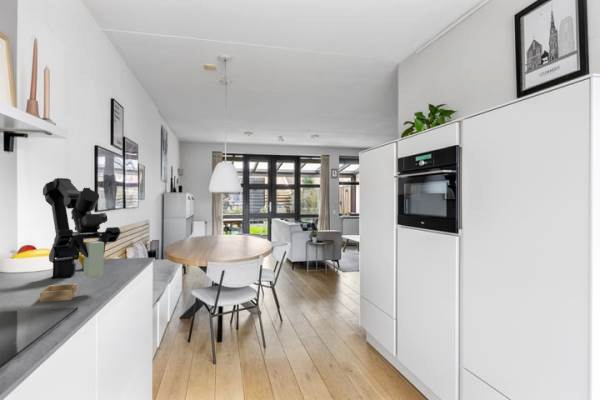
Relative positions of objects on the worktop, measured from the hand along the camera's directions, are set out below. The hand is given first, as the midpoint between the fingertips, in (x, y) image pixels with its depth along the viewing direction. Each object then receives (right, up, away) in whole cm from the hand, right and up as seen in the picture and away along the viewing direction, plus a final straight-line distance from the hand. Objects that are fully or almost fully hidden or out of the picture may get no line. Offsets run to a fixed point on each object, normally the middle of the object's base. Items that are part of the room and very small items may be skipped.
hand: (95, 255), depth 107 cm
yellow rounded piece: (-25, -12, +33) cm, 43 cm away
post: (-1, -7, +1) cm, 7 cm away
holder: (-8, -12, -6) cm, 16 cm away
